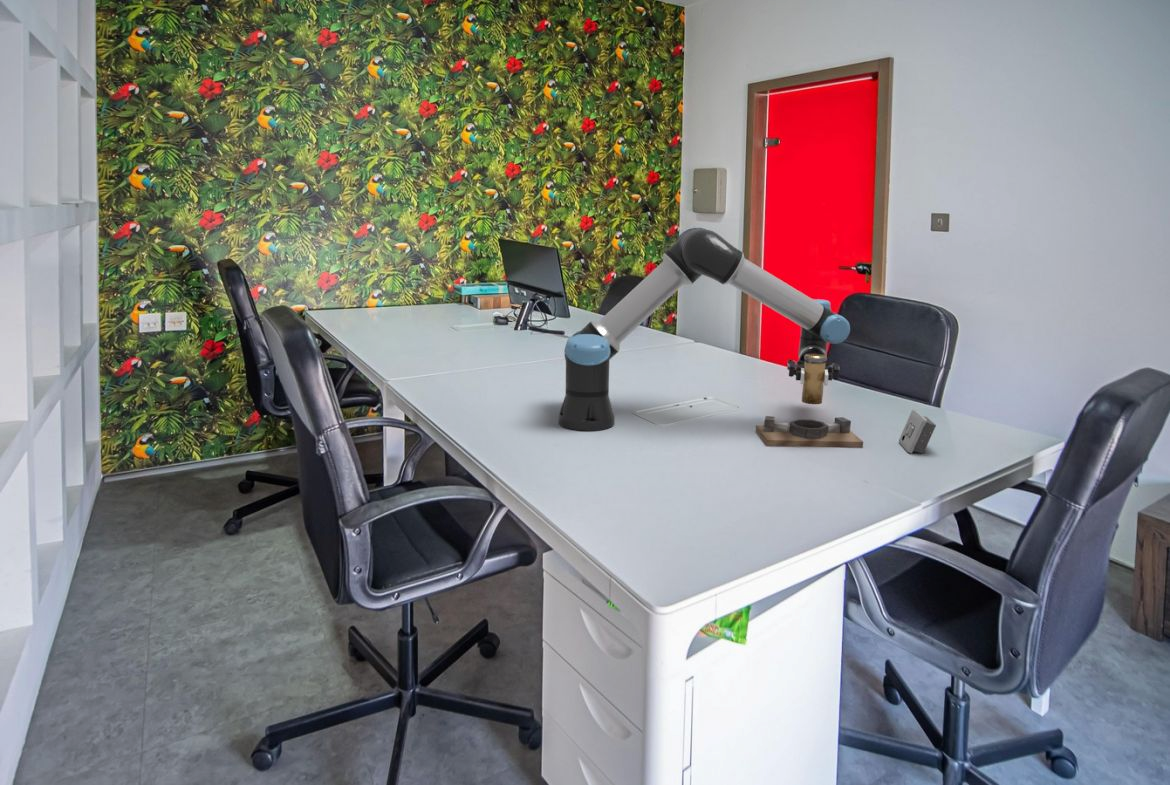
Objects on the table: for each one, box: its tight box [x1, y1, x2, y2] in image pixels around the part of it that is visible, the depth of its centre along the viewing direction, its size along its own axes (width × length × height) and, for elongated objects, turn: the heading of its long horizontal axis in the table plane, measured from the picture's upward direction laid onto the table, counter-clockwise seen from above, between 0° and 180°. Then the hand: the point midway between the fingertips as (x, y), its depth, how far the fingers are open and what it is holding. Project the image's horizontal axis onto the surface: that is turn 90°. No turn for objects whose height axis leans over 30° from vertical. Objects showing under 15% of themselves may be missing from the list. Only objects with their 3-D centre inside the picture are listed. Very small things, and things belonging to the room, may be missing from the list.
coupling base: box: [755, 415, 864, 449], centre depth 199 cm, size 24×13×5 cm, turn 90°
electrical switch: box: [898, 409, 937, 455], centre depth 192 cm, size 9×5×9 cm, turn 173°
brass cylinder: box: [801, 354, 828, 405], centre depth 196 cm, size 5×5×12 cm
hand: (814, 379), depth 191 cm, fingers closed on brass cylinder, 5 cm apart
